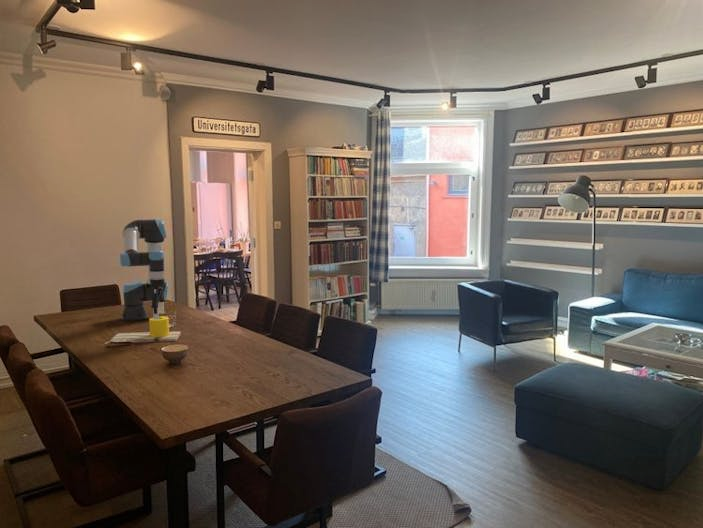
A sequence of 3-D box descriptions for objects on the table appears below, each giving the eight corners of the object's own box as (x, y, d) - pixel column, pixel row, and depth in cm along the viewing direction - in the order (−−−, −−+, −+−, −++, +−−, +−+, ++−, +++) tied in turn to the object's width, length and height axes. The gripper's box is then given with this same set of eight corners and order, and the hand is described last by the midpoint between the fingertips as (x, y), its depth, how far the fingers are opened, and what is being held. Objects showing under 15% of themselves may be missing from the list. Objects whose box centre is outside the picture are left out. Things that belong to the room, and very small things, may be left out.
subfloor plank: (118, 335, 295) (118, 332, 295) (180, 333, 300) (180, 330, 300) (109, 343, 279) (109, 340, 279) (175, 341, 284) (175, 338, 284)
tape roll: (162, 337, 284) (162, 320, 283) (146, 336, 286) (145, 319, 285) (172, 333, 294) (172, 316, 293) (156, 332, 296) (155, 315, 295)
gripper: (155, 274, 298) (156, 311, 301) (144, 282, 274) (146, 322, 277) (168, 274, 299) (170, 310, 302) (159, 282, 275) (161, 321, 278)
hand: (158, 316), depth 289 cm, fingers open, 13 cm apart
